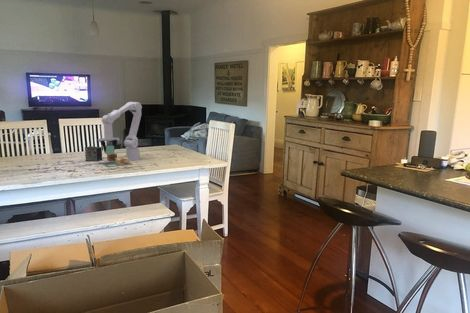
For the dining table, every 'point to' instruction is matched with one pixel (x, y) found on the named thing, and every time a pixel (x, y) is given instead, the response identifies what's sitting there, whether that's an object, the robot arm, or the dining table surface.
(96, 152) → the small box
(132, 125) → the robot arm
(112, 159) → the walnut block
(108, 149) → the teal block
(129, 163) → the placemat
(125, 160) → the oak block
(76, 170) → the dining table surface
